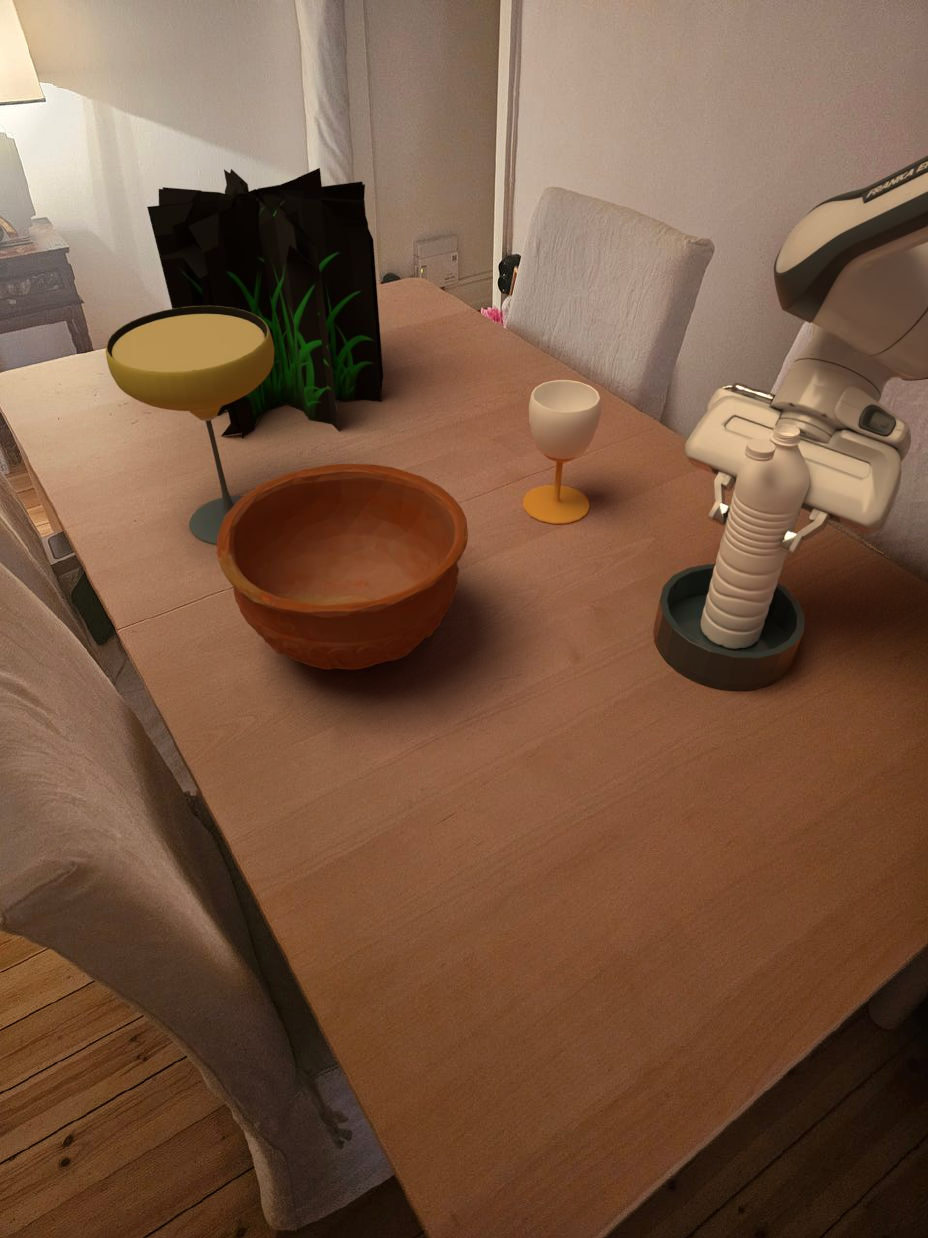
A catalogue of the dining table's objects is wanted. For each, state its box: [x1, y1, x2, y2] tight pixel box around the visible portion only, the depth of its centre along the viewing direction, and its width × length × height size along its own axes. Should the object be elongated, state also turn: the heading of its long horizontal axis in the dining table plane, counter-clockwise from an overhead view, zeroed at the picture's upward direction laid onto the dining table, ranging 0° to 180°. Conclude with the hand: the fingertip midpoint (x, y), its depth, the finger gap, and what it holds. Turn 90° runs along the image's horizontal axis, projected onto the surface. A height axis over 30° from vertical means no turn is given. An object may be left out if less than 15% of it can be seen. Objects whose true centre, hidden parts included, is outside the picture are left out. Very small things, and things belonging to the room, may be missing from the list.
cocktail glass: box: [105, 306, 274, 545], centre depth 100 cm, size 18×18×25 cm
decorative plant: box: [146, 167, 384, 440], centre depth 123 cm, size 29×30×30 cm
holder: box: [653, 563, 806, 692], centre depth 90 cm, size 15×15×5 cm
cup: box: [521, 379, 602, 525], centre depth 105 cm, size 9×9×16 cm
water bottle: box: [701, 424, 810, 649], centre depth 82 cm, size 9×6×25 cm
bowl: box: [216, 463, 469, 671], centre depth 87 cm, size 25×25×15 cm
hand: (750, 536), depth 81 cm, fingers closed on water bottle, 6 cm apart
